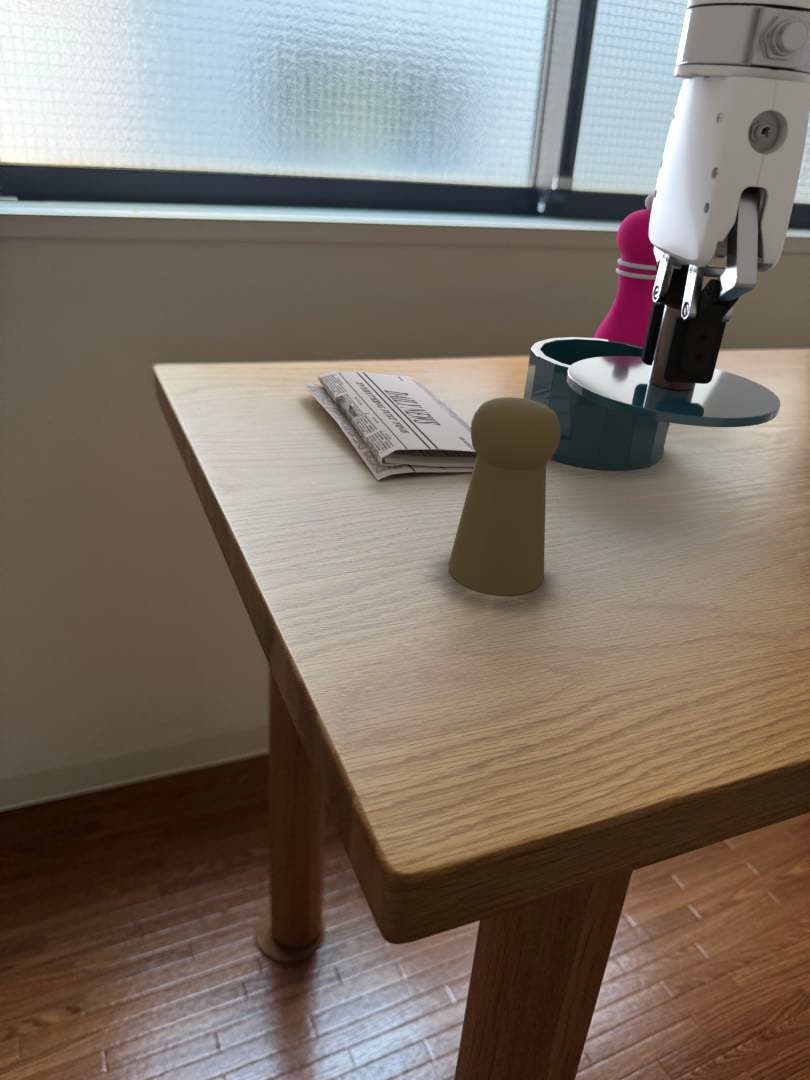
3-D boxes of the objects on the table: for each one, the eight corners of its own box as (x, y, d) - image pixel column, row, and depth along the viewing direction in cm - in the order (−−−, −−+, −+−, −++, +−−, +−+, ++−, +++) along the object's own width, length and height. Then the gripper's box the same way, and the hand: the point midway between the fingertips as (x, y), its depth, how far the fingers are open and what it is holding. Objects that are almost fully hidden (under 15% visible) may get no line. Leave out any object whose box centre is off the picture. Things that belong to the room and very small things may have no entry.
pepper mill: (593, 376, 97) (628, 187, 87) (657, 389, 94) (699, 195, 85) (576, 391, 91) (611, 190, 82) (643, 405, 88) (687, 198, 79)
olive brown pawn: (492, 540, 57) (514, 381, 52) (563, 576, 54) (593, 409, 49) (428, 565, 54) (444, 397, 49) (499, 606, 50) (525, 428, 45)
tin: (634, 423, 83) (651, 341, 79) (683, 473, 71) (705, 380, 68) (507, 417, 81) (518, 333, 78) (537, 467, 70) (551, 372, 66)
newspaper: (298, 391, 84) (301, 366, 83) (414, 400, 88) (418, 376, 87) (360, 479, 64) (365, 448, 63) (504, 485, 69) (511, 456, 68)
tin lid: (722, 377, 64) (743, 293, 61) (816, 442, 52) (848, 340, 49) (544, 367, 62) (557, 280, 59) (597, 431, 50) (618, 325, 47)
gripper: (896, 52, 41) (788, 416, 49) (746, 65, 55) (682, 345, 64) (748, 36, 40) (664, 410, 48) (635, 54, 55) (585, 339, 63)
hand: (675, 370), depth 56 cm, fingers closed on tin lid, 3 cm apart
